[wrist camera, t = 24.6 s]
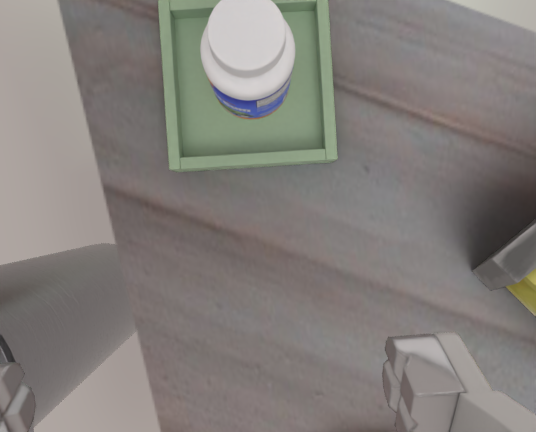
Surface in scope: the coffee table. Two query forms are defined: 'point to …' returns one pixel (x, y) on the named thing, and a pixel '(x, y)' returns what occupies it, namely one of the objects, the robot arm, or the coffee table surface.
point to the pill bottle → (248, 57)
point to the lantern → (514, 267)
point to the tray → (237, 129)
